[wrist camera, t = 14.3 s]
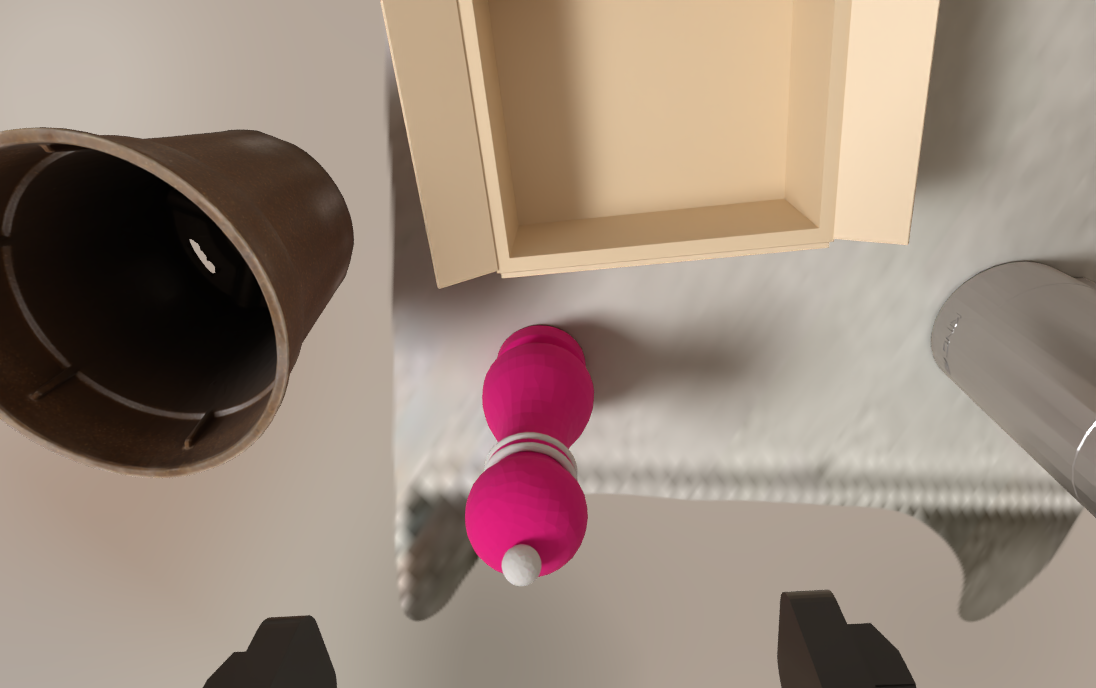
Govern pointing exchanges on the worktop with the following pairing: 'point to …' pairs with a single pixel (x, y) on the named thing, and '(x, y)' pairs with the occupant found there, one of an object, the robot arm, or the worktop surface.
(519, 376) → the pepper mill
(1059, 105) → the worktop surface
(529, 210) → the carton
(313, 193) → the plant pot
